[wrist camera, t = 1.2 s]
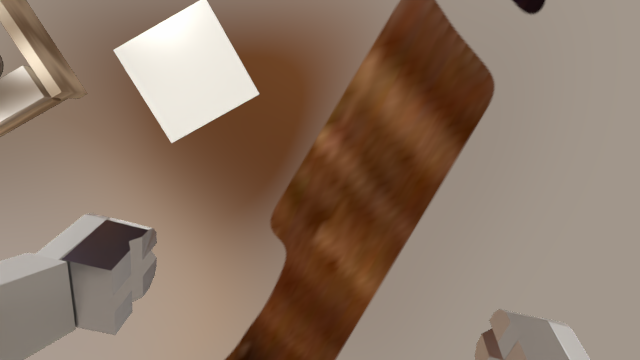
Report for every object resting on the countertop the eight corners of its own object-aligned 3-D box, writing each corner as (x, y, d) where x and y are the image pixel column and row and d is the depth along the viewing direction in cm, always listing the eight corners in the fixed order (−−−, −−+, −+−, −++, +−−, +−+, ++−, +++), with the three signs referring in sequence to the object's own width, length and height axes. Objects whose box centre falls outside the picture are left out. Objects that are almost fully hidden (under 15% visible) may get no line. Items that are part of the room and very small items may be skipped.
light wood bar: (71, 99, 45) (46, 98, 40) (-18, 150, 45) (-52, 155, 41) (48, 65, 44) (20, 61, 39) (-42, 117, 44) (-80, 119, 40)
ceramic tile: (259, 94, 46) (259, 94, 45) (173, 142, 46) (171, 143, 46) (206, -2, 43) (205, -3, 43) (115, 50, 44) (113, 50, 43)
